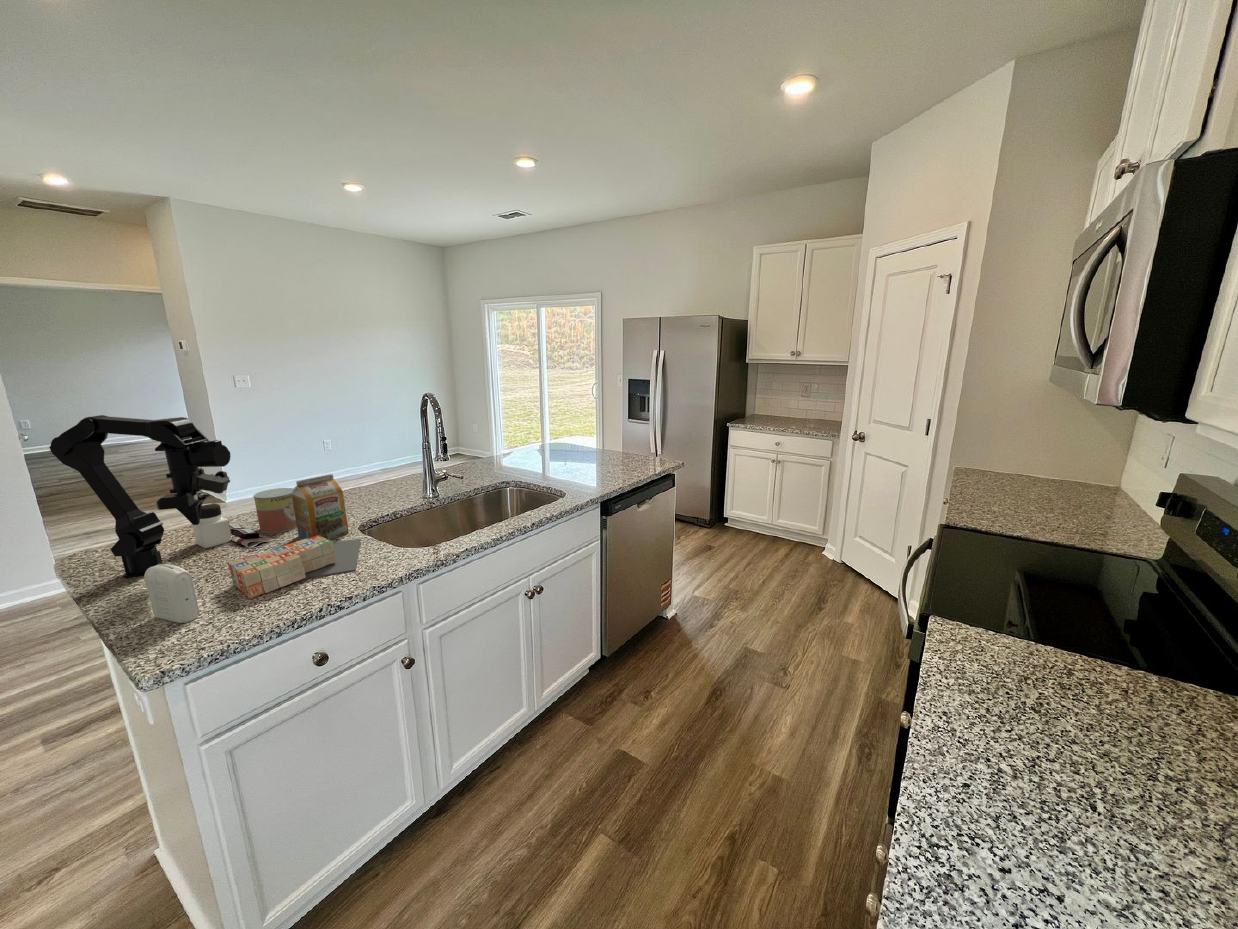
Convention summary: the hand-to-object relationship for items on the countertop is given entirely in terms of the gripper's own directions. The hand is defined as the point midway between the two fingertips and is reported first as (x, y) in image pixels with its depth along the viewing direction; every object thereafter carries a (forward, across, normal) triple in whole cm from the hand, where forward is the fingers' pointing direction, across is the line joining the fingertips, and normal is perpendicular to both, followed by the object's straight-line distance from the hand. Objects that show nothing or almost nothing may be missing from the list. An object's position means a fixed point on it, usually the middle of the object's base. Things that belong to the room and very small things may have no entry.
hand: (196, 524), depth 130 cm
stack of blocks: (+10, -7, -19) cm, 22 cm away
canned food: (+13, +31, -9) cm, 35 cm away
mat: (+13, -4, -29) cm, 32 cm away
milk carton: (+13, +18, -24) cm, 33 cm away
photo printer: (+13, -27, -4) cm, 30 cm away
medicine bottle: (+13, +23, +6) cm, 27 cm away
